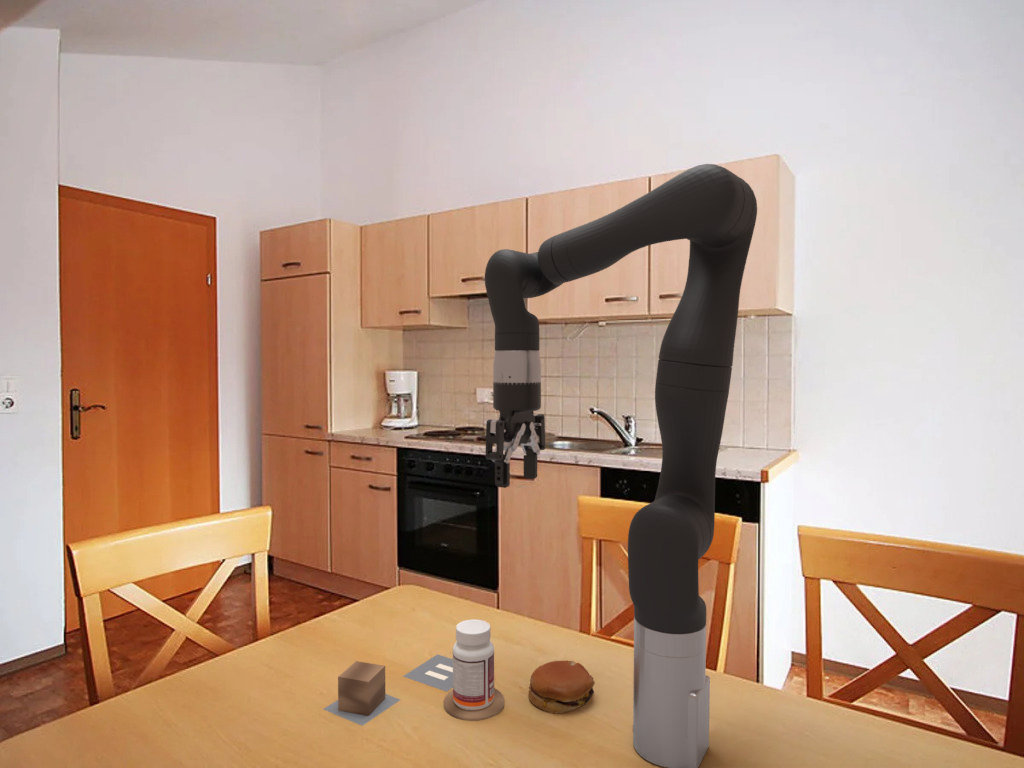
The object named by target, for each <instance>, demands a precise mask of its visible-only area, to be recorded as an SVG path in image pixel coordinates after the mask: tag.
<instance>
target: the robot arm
mask: <svg viewBox="0 0 1024 768" xmlns="http://www.w3.org/2000/svg"><path fill="white" fill-rule="evenodd" d="M757 203H758V201H757V198H756V195H755V192H754V190H753V188H752V187H751V186H750V185H749V183H747V181H745V180H744V179H743V178H741V177H740V176H738V175H737V174H735V173H734V172H732V171H731V170H729V169H727V168H726V167H723V166H721V165H717V164H712V163H703V164H698V165H696V166H692V167H690V168H688V169H687V170H684V171H683V172H681V173H679V174H677V175H676V176H674V177H672V178H670V179H669V180H667V181H665V182H664V183H662V184H661V185H659V186H658V187H655V188H654V189H653V190H650V191H649V192H647V193H646V194H644V195H642V196H640V197H638V198H636V199H634V200H633V201H631V202H629V203H628V204H627V203H626V204H625V205H624V206H622V207H620V208H617V209H616V210H614V211H612V212H610V213H607V214H606V215H603V216H602V217H599V218H597V219H595V220H592V221H589V222H587V223H584V224H582V225H579V226H577V227H574V228H571V229H569V230H566V231H564V232H561V233H558V234H556V235H553V236H551V237H549V238H548V239H546V240H545V241H543V242H542V243H541V245H539V248H538V251H536V252H531V253H528V252H523V251H517V250H513V249H508V248H507V249H506V248H505V249H499V250H497V251H495V252H494V253H493V254H492V255H491V256H490V257H489V259H488V262H487V263H486V267H485V271H484V286H485V291H486V295H487V299H488V303H489V308H490V313H491V316H492V319H493V323H494V357H493V358H494V359H493V364H492V365H493V366H492V377H493V378H492V386H493V387H492V402H493V403H492V407H493V409H494V410H495V411H498V412H499V418H498V419H487V420H486V429H485V430H486V431H485V454H484V457H485V459H486V460H489V461H492V462H493V463H494V485H495V486H496V487H497V488H503V489H506V488H509V487H510V485H511V484H510V483H511V481H510V480H511V474H510V470H511V469H510V468H511V467H510V465H511V464H510V461H511V457H512V455H513V453H514V452H516V451H517V448H518V446H521V448H522V451H523V453H524V454H525V455H524V454H523V477H524V478H525V479H527V480H528V479H529V480H530V479H531V480H535V479H536V478H537V477H538V456H539V455H541V451H544V450H545V449H546V426H545V425H546V422H545V415H544V414H543V413H541V414H540V413H534V412H535V411H539V410H541V407H542V362H541V355H540V354H541V353H540V323H539V318H538V317H537V316H536V315H535V314H533V313H531V312H530V311H528V310H527V308H526V304H525V299H533V298H536V297H540V296H543V295H545V294H547V293H550V292H552V291H554V290H555V289H556V288H559V287H560V286H562V285H563V284H564V283H570V282H572V281H575V280H578V279H581V278H586V277H588V276H591V275H594V274H596V273H599V272H602V271H603V270H607V269H608V268H610V267H612V266H613V265H614V264H616V263H618V262H619V261H620V260H622V259H623V258H625V257H626V256H628V255H631V254H632V253H633V252H636V251H637V250H639V249H642V248H645V247H647V246H652V245H655V244H659V243H664V242H665V243H667V242H669V241H670V242H671V241H677V240H688V241H689V256H688V269H687V275H686V276H687V277H686V282H685V286H684V290H683V293H682V294H681V295H682V296H681V298H680V300H679V302H678V304H677V307H676V309H675V311H674V313H673V315H672V317H671V319H670V320H669V323H668V325H667V328H666V330H665V333H664V336H663V337H662V341H661V344H660V348H659V354H658V360H657V369H656V376H655V377H656V378H655V385H654V386H655V387H654V403H655V404H654V405H655V411H656V418H657V423H658V428H659V429H658V430H659V434H660V441H661V446H662V447H661V448H662V449H661V450H662V451H661V453H662V455H661V456H662V458H661V459H662V461H661V468H660V475H659V479H658V485H657V489H656V494H655V498H654V501H652V502H650V503H648V504H647V505H645V506H643V507H641V508H640V509H639V510H638V511H637V512H635V514H634V515H633V517H632V520H630V521H631V522H630V524H629V529H628V533H627V534H628V535H627V537H628V538H627V568H628V569H627V570H628V573H627V574H628V589H629V590H628V592H629V596H630V599H631V602H632V604H633V609H634V610H633V695H632V696H633V698H632V700H633V702H632V704H633V705H632V707H633V708H632V709H633V710H632V711H633V715H632V719H633V721H632V744H633V748H634V750H635V751H636V753H637V754H638V755H639V756H640V757H641V758H643V759H644V760H646V761H647V762H650V763H652V764H653V765H657V766H660V767H663V768H699V767H700V764H701V763H702V761H703V759H704V757H705V755H706V753H707V751H708V748H709V746H710V702H711V701H710V699H711V698H710V697H711V695H710V694H711V693H710V692H711V686H710V685H711V677H710V676H709V675H707V674H706V671H707V669H706V667H707V666H706V665H707V664H706V658H707V656H706V655H707V653H706V652H707V604H706V602H705V600H704V599H703V598H702V597H701V596H700V594H699V593H700V592H699V591H700V590H699V588H700V587H699V560H700V559H701V558H702V557H704V555H706V553H707V552H708V550H710V548H711V545H712V542H713V539H714V535H715V518H716V517H715V515H716V514H715V513H716V512H715V508H716V507H715V505H716V499H715V498H716V472H717V461H718V455H719V450H720V448H721V447H720V445H721V442H722V441H721V440H722V438H723V437H722V436H723V430H724V425H725V424H724V423H725V418H726V410H727V405H728V399H729V394H730V385H731V380H732V379H731V378H732V370H733V365H734V363H733V362H734V351H735V350H734V349H735V342H736V335H737V333H736V332H737V326H738V317H739V306H740V295H741V287H742V282H743V278H744V272H745V269H746V264H747V259H748V255H749V250H750V247H751V243H752V239H753V236H754V230H755V226H756V222H757V215H758V204H757ZM493 445H494V446H495V448H494V450H493ZM504 451H505V452H504Z"/></svg>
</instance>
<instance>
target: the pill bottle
mask: <svg viewBox="0 0 1024 768" xmlns="http://www.w3.org/2000/svg"><path fill="white" fill-rule="evenodd" d="M491 638H492V635H491V625H490V623H489V622H488V621H485V620H482V619H476V618H475V619H466V620H462V621H460V622H459V623H458V624H456V626H455V640H456V642H455V643H453V647H452V659H453V688H452V690H453V700H454V703H455V704H456V705H457V706H458V707H460V708H462V709H464V710H480V709H483V708H486V707H488V706H489V705H490V704H491V703H492V702H493V699H494V688H495V648H494V644H493V642H492V641H491Z"/></svg>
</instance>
